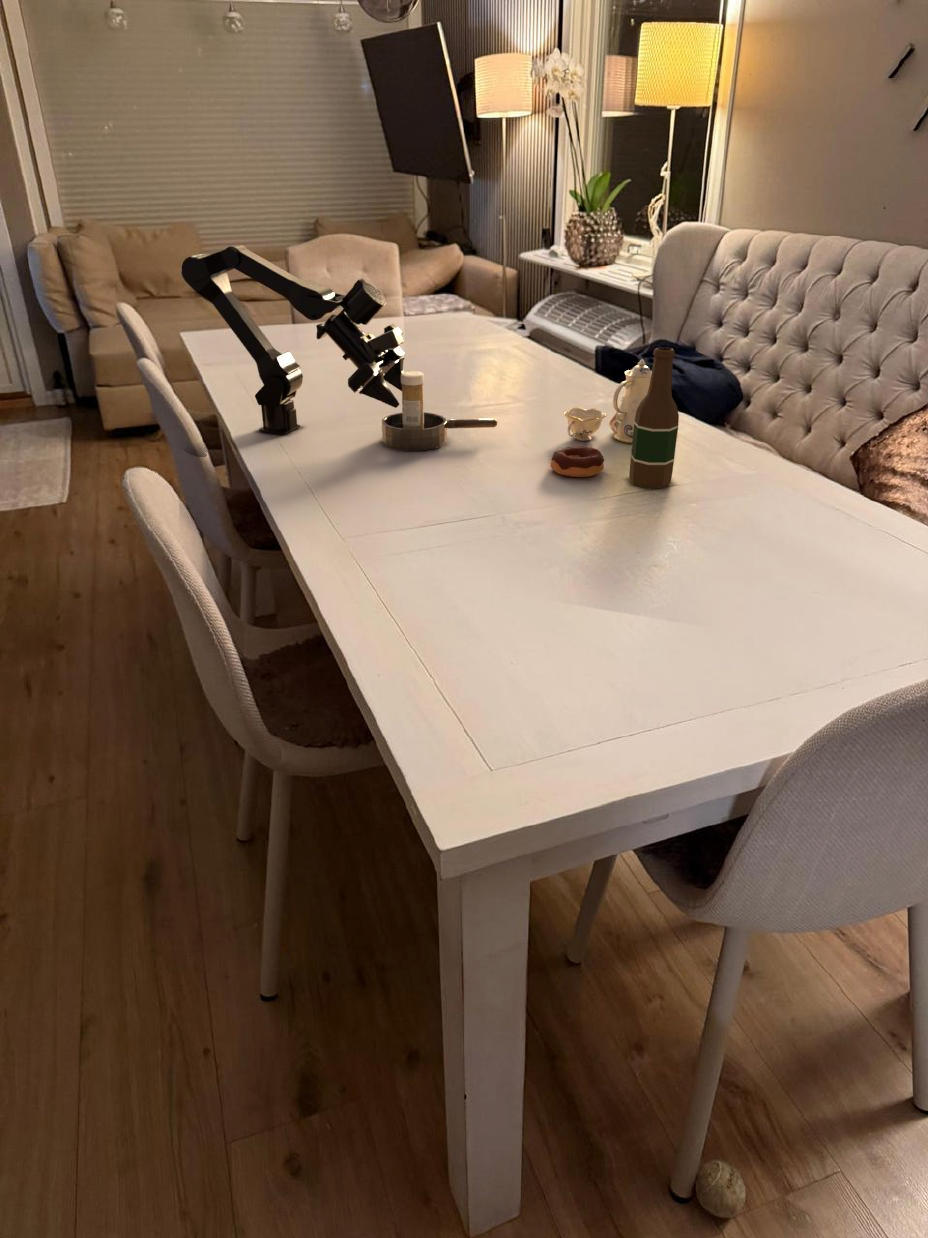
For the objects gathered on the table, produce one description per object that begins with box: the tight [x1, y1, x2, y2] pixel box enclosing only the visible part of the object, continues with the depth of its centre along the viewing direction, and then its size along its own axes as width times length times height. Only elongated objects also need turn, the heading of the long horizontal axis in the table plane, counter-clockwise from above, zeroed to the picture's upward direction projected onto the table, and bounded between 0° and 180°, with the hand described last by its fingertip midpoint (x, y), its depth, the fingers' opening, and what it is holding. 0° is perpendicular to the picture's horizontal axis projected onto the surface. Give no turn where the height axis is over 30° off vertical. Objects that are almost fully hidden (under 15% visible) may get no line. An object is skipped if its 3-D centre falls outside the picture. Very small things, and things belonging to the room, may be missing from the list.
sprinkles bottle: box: [401, 370, 425, 429], centre depth 182 cm, size 5×5×14 cm
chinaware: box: [562, 358, 652, 444], centre depth 187 cm, size 28×17×17 cm, turn 135°
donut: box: [549, 446, 605, 478], centre depth 169 cm, size 10×10×4 cm
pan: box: [381, 411, 448, 452], centre depth 184 cm, size 13×13×4 cm
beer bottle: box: [628, 346, 680, 489], centre depth 159 cm, size 8×8×24 cm
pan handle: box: [446, 418, 498, 429], centre depth 185 cm, size 11×2×2 cm, turn 96°
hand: (405, 400), depth 182 cm, fingers open, 9 cm apart
